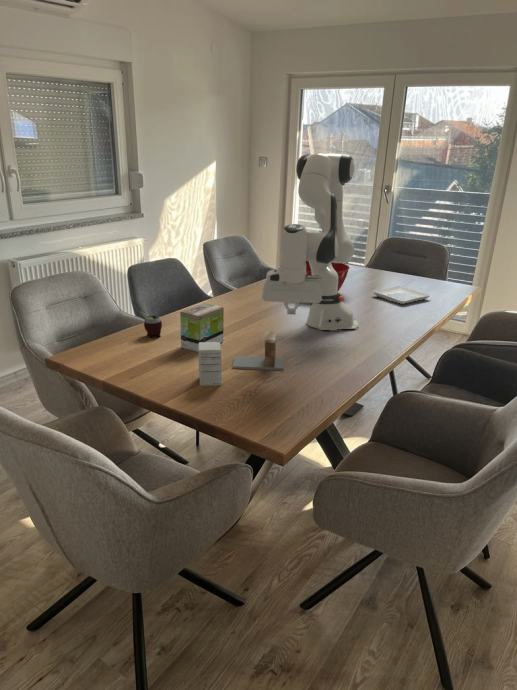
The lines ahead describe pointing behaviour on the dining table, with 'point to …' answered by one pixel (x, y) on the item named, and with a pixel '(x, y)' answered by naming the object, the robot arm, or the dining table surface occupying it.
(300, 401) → the dining table surface
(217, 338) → the tea box
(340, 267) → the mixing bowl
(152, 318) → the mate gourd
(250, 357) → the mat
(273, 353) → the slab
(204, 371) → the supplement box
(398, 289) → the salad plate
